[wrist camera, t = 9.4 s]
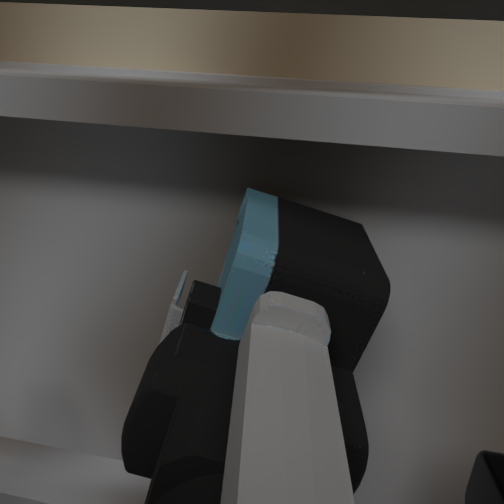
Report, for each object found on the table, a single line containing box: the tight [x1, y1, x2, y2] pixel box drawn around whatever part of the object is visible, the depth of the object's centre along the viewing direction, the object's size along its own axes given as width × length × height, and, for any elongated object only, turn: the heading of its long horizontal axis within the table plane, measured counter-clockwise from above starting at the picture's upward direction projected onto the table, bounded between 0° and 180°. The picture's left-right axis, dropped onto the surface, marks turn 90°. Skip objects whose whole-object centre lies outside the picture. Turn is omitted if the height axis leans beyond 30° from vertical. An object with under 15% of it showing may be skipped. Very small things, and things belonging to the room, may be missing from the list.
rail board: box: [0, 2, 504, 504], centre depth 10 cm, size 18×12×3 cm, turn 87°
